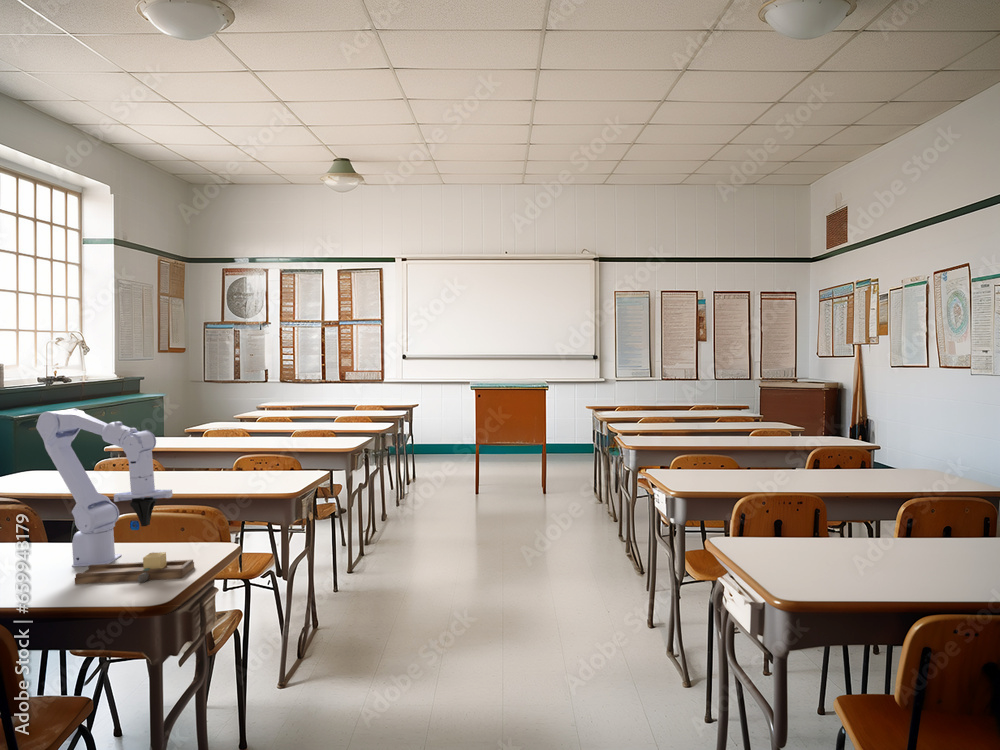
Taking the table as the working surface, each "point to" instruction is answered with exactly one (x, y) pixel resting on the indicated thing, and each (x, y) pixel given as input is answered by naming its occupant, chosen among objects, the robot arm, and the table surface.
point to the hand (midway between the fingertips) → (145, 525)
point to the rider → (155, 560)
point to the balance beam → (133, 572)
